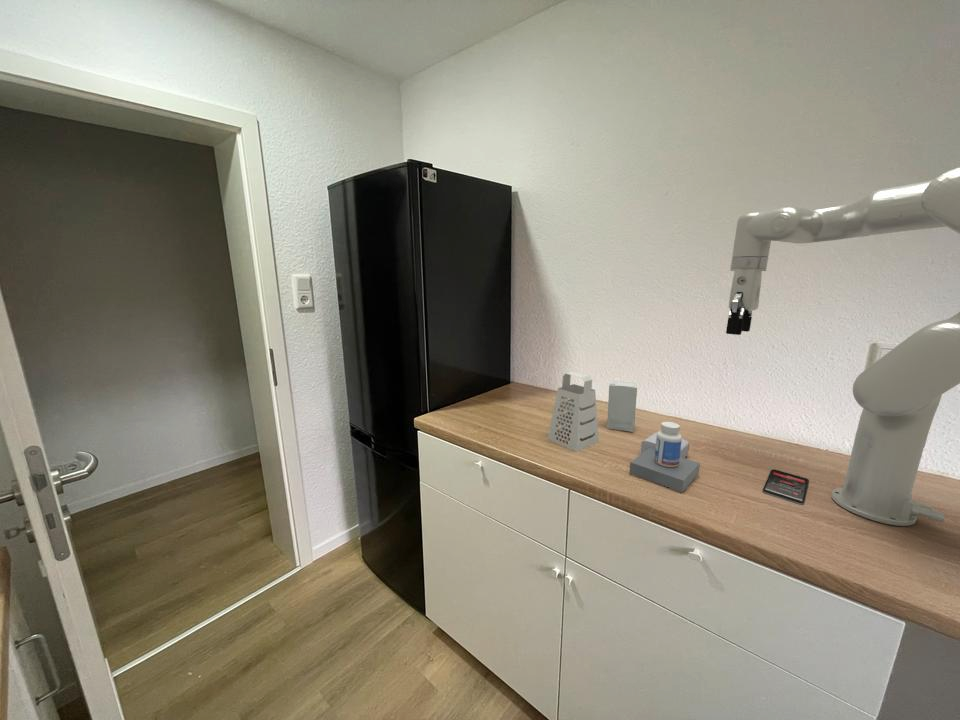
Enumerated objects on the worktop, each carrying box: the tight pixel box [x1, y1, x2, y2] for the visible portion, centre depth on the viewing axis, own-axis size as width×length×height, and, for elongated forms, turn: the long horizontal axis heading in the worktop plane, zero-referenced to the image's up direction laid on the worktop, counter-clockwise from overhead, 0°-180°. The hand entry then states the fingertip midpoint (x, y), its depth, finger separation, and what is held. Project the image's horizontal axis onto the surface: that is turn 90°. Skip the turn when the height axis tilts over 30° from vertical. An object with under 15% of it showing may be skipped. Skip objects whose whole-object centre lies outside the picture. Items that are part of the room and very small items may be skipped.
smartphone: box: [761, 468, 810, 506], centre depth 89 cm, size 7×1×15 cm
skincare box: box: [606, 380, 638, 433], centre depth 121 cm, size 8×6×15 cm
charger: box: [639, 431, 690, 459], centre depth 105 cm, size 5×9×15 cm
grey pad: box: [629, 448, 701, 494], centre depth 93 cm, size 12×12×3 cm
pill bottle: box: [654, 421, 683, 467], centre depth 92 cm, size 6×5×10 cm
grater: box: [546, 371, 600, 453], centre depth 110 cm, size 10×10×20 cm
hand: (737, 332), depth 100 cm, fingers open, 9 cm apart
